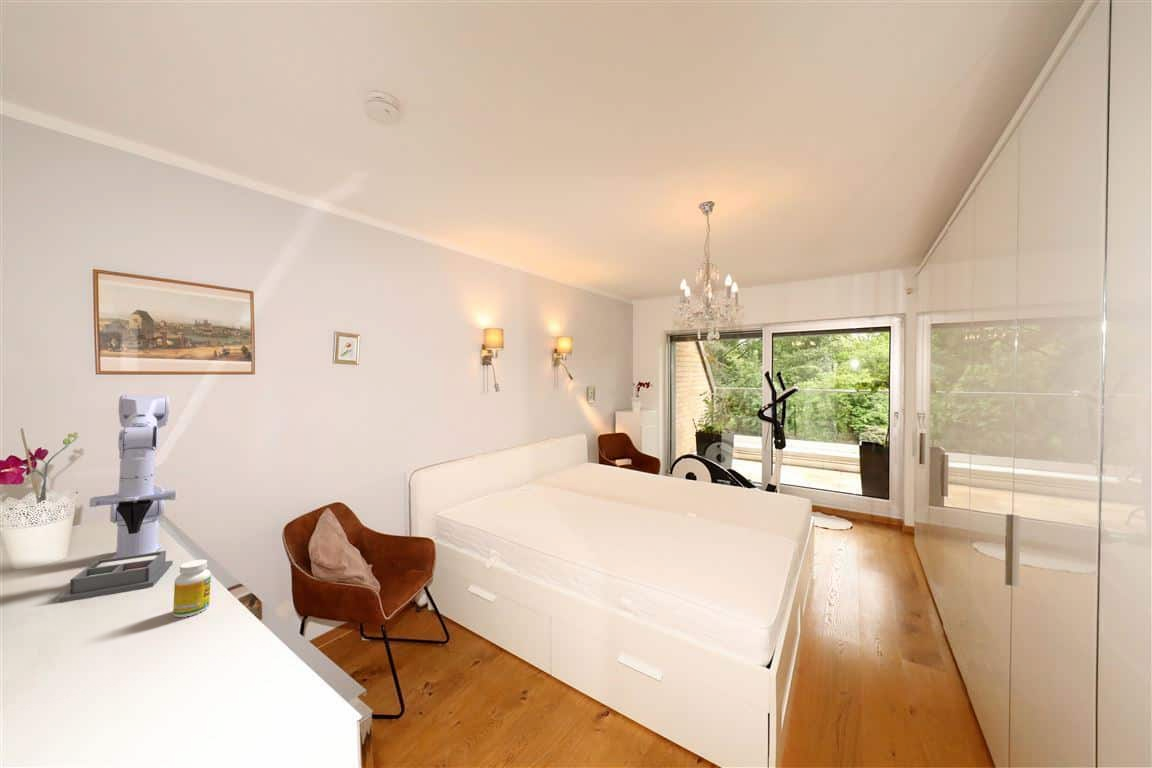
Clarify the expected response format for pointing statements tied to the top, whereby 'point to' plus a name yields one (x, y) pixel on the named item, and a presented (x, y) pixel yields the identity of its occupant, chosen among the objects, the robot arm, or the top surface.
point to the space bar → (127, 561)
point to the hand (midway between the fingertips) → (134, 532)
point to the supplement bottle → (192, 589)
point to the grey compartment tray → (117, 576)
